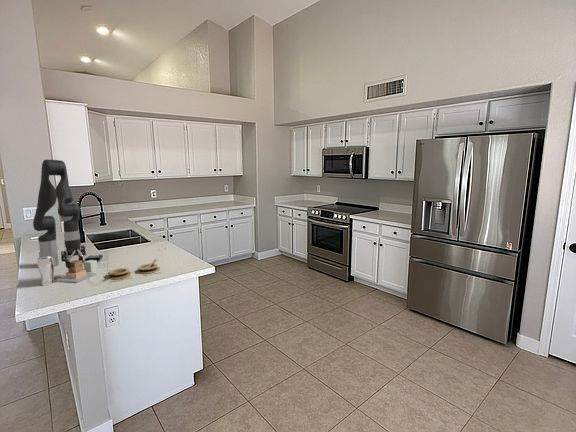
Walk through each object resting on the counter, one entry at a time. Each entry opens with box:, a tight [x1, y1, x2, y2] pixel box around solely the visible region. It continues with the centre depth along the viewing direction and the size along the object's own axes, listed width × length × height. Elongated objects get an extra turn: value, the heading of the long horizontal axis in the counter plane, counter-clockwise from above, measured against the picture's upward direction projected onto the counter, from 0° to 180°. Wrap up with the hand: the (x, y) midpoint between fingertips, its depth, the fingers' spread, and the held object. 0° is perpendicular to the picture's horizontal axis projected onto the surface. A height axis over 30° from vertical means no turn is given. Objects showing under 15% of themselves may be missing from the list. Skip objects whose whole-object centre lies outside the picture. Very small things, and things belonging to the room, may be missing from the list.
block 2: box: [83, 260, 99, 273], centre depth 196 cm, size 5×5×6 cm
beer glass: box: [37, 256, 56, 287], centre depth 172 cm, size 7×7×15 cm
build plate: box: [55, 269, 97, 284], centre depth 182 cm, size 14×14×4 cm
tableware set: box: [106, 258, 163, 283], centre depth 191 cm, size 30×20×6 cm, turn 125°
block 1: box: [67, 259, 84, 273], centre depth 181 cm, size 5×5×6 cm
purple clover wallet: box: [84, 254, 104, 262], centre depth 218 cm, size 9×3×11 cm
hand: (75, 265), depth 181 cm, fingers open, 8 cm apart
